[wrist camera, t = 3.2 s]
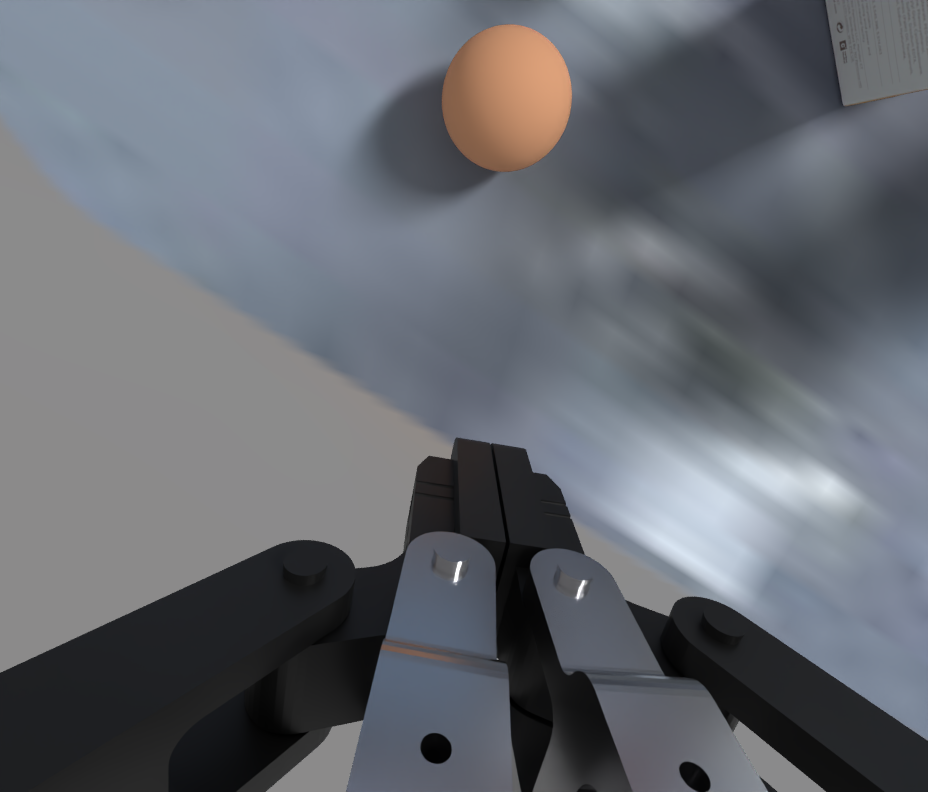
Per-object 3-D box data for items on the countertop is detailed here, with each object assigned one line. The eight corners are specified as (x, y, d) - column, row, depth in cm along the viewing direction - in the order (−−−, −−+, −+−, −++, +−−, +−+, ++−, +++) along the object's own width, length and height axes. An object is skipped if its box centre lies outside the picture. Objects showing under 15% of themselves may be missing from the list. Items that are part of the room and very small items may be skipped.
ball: (571, 57, 25) (602, 24, 20) (543, 183, 27) (564, 182, 22) (454, 30, 25) (455, -10, 20) (433, 160, 27) (429, 154, 22)
